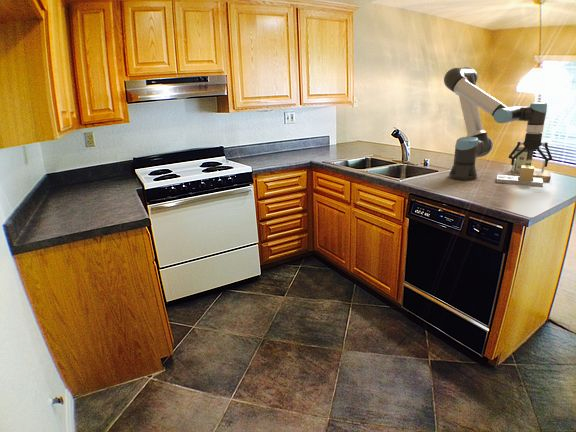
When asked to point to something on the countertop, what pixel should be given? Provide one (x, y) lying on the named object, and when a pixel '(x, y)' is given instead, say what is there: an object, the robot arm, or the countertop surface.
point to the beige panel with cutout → (516, 180)
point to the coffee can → (522, 159)
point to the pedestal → (542, 175)
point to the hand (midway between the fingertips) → (527, 171)
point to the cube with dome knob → (526, 173)
